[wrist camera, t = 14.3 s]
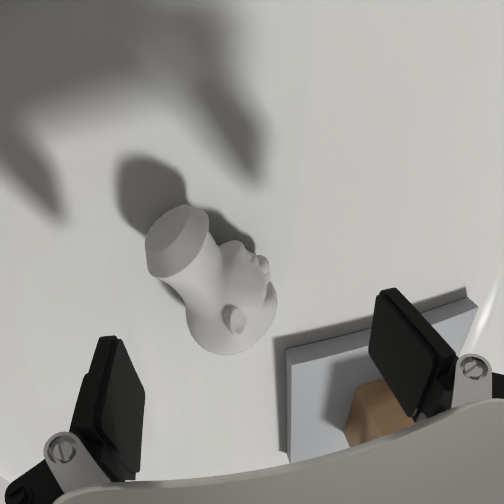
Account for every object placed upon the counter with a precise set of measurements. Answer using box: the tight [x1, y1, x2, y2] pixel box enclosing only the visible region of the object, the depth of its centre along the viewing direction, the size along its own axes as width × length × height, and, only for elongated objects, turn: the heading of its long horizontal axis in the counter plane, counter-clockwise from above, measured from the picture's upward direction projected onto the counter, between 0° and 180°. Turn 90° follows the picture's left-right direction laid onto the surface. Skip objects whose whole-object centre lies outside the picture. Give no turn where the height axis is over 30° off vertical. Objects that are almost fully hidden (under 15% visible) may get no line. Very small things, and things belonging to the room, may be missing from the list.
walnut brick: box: [343, 378, 427, 447], centre depth 21 cm, size 7×6×5 cm
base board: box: [285, 297, 478, 464], centre depth 24 cm, size 16×16×2 cm
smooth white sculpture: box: [145, 204, 277, 356], centre depth 15 cm, size 4×8×5 cm
